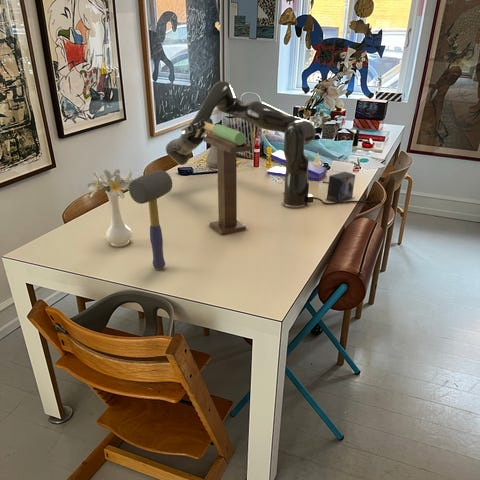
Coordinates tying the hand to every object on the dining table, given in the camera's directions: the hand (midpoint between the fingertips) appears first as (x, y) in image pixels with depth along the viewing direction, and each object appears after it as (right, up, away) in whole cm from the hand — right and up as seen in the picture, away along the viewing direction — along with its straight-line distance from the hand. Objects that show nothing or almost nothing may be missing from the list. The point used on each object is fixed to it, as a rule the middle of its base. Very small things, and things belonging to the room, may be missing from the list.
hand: (207, 121), depth 172 cm
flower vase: (-31, -44, -3) cm, 54 cm away
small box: (+55, -19, +37) cm, 69 cm away
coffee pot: (+4, +9, +80) cm, 81 cm away
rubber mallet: (-14, -55, -20) cm, 60 cm away
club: (+4, -6, -6) cm, 9 cm away
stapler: (+40, +1, +68) cm, 79 cm away
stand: (+7, -37, +9) cm, 38 cm away
